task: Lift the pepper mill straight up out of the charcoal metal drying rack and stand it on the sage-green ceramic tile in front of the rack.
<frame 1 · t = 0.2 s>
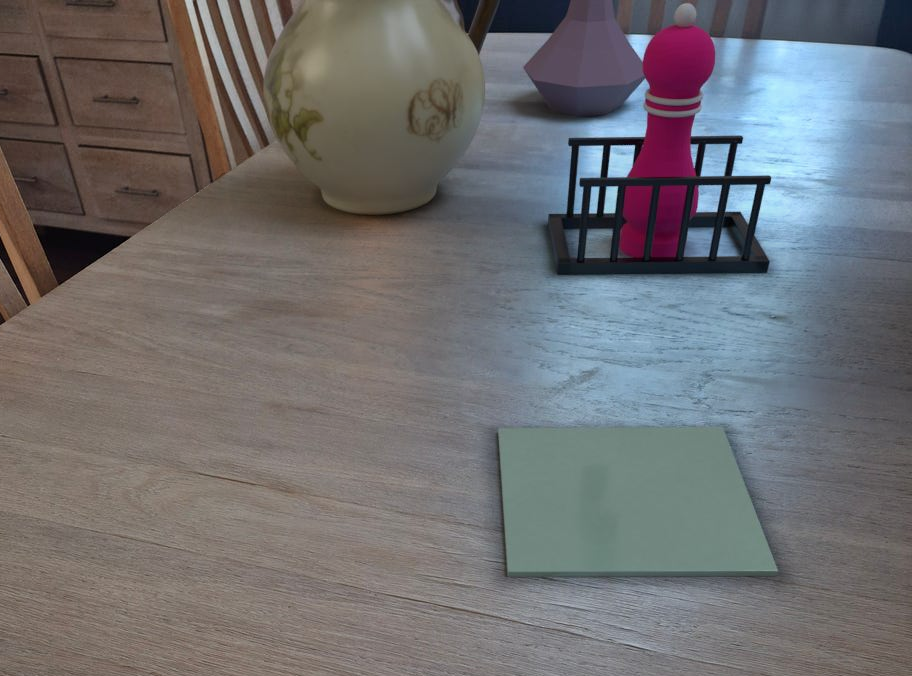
rack: (651, 248, 92), on the table
tile: (624, 498, 62), on the table
mauve faceted vase: (582, 108, 126), on the table
pitcher: (381, 194, 104), on the table
pepper mill: (651, 250, 92), resting in rack
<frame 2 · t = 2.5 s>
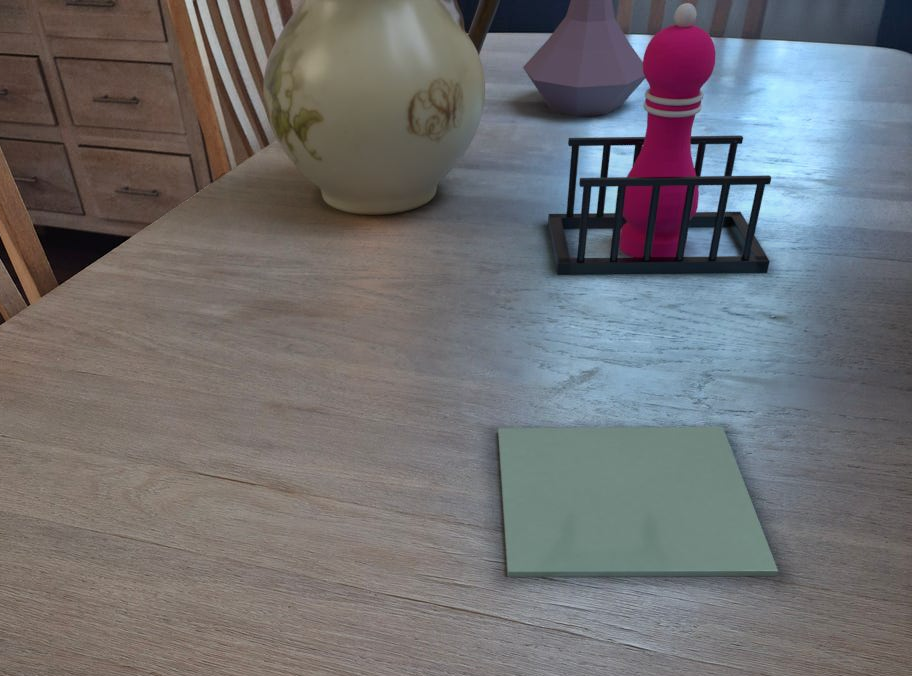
nothing on the table moved.
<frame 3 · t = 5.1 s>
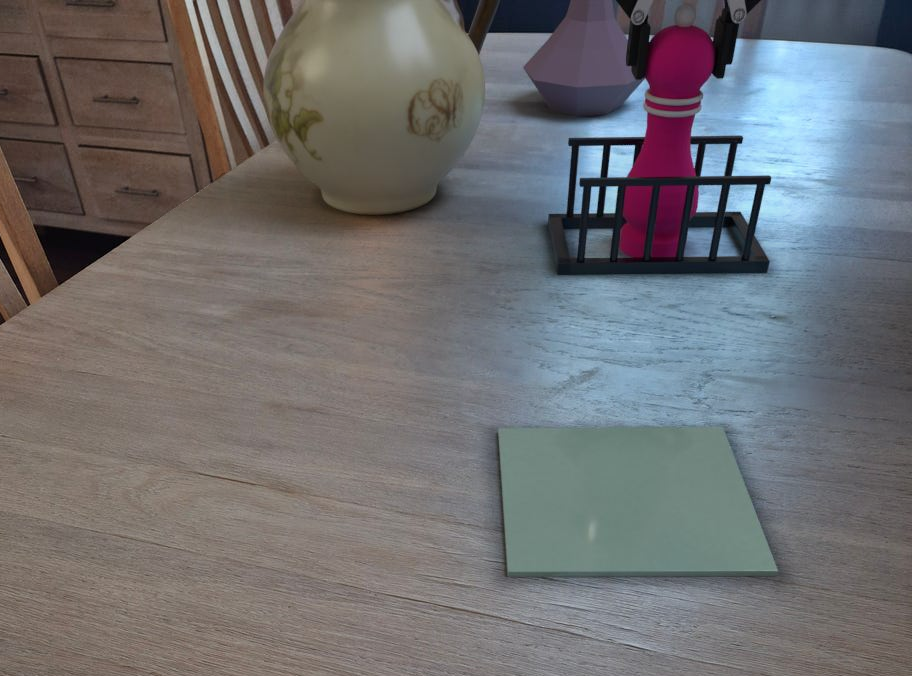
hand: (676, 72, 81), 15 cm above the table, tool pointing down, fingers closed on pepper mill, 6 cm apart
pepper mill: (651, 250, 92), resting in rack, touching gripper
everything else where it was.
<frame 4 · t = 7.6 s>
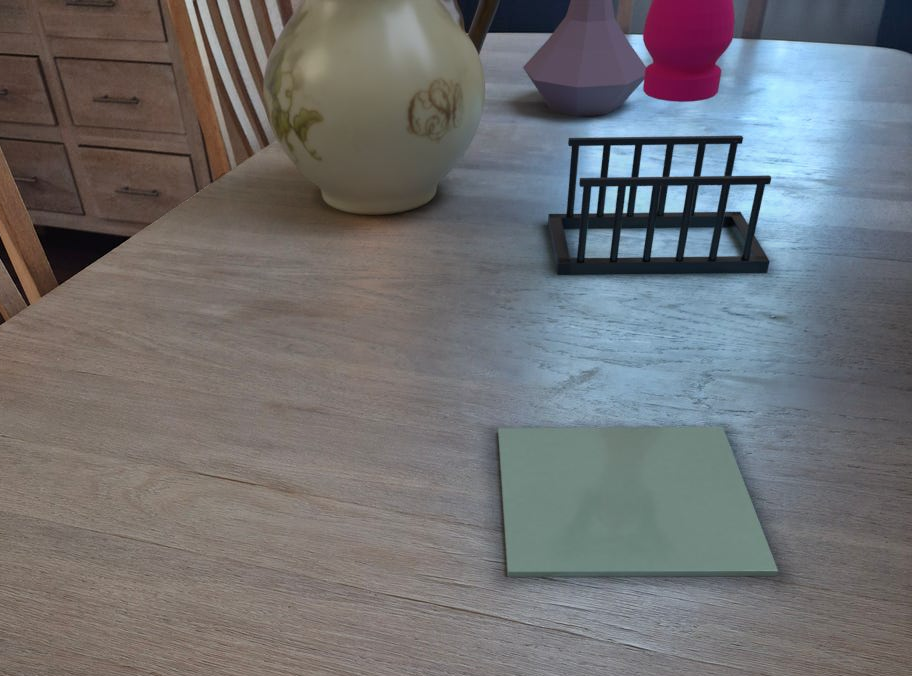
pepper mill: (679, 94, 81), point 14 cm above the table, touching gripper
everything else where it was.
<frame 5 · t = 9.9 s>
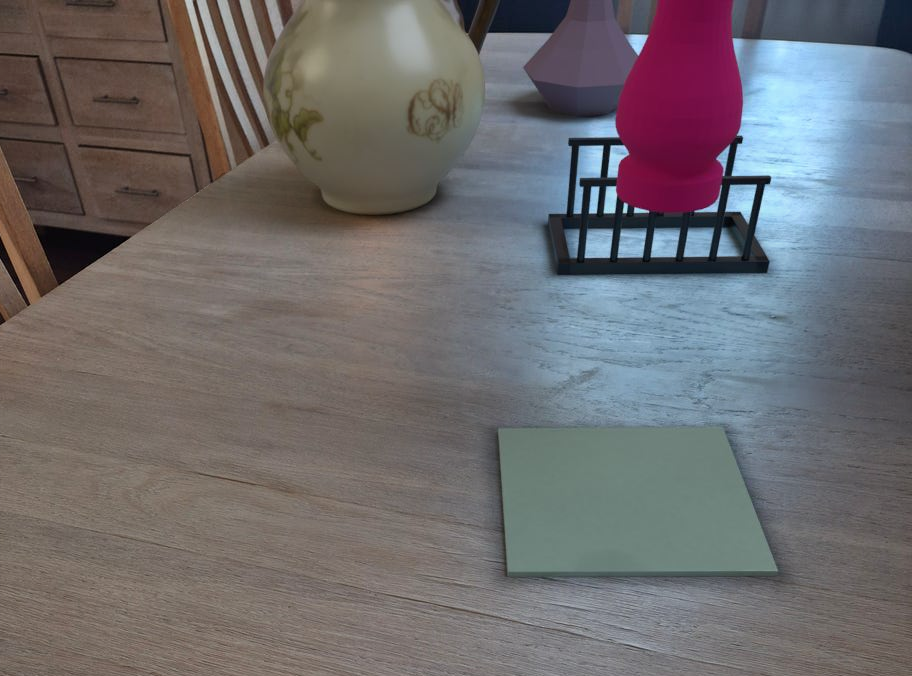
pepper mill: (666, 198, 59), point 15 cm above the table, touching gripper
everything else where it was.
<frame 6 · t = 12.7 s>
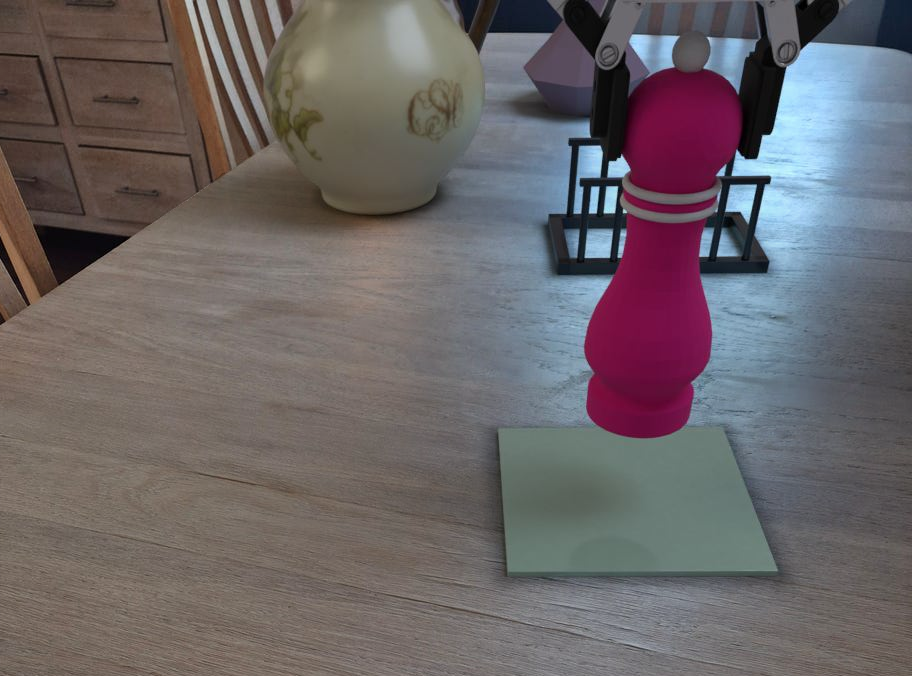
hand: (676, 148, 48), 21 cm above the table, tool pointing down, fingers closed on pepper mill, 6 cm apart
pepper mill: (636, 414, 58), point 6 cm above the table, touching gripper
everything else where it was.
when the fingers open (15 cm above the table, at t = 14.6 s): pepper mill stays where it is, resting on tile.
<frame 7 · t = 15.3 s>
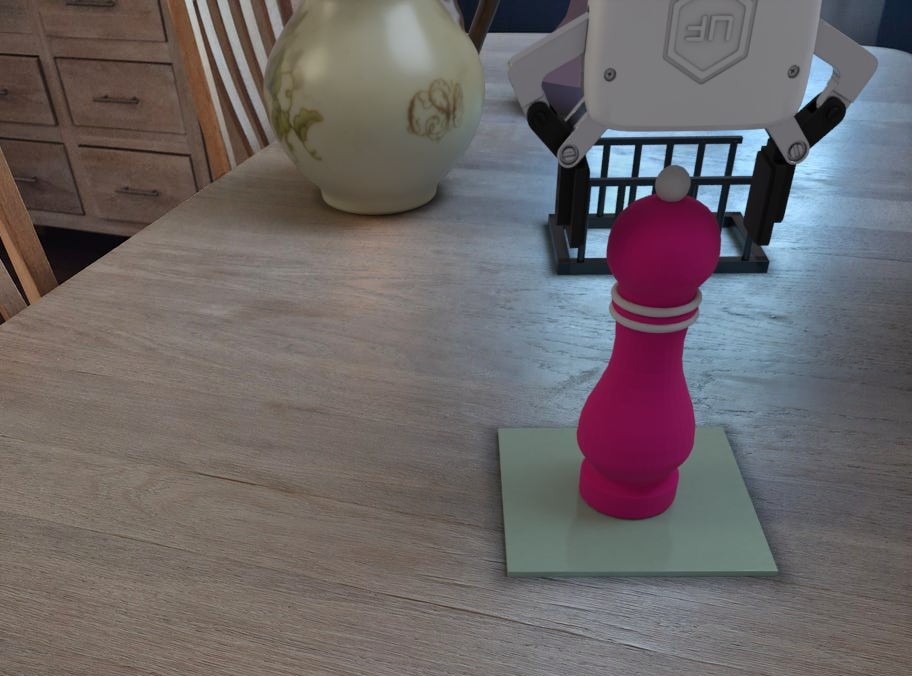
hand: (664, 237, 51), 17 cm above the table, tool pointing down, fingers open, 9 cm apart
pepper mill: (626, 494, 62), resting on tile
everything else where it was.
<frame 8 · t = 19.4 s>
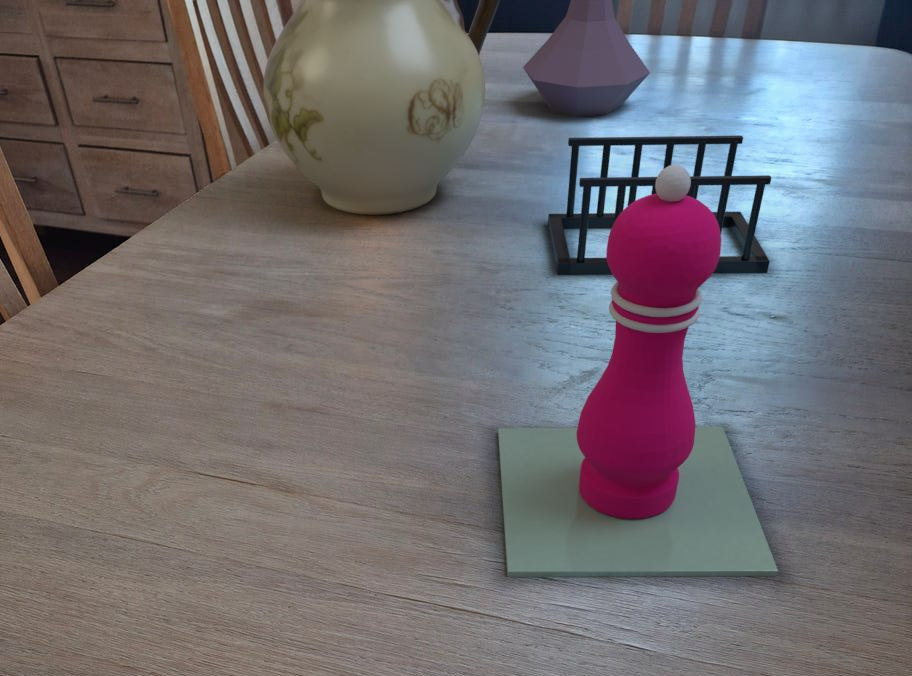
nothing on the table moved.
at the end: pepper mill inside the target area on the tile (0.1 cm from its centre), point 0.3 cm above the tile's base; pepper mill tilted 0°; the gripper is holding nothing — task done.
